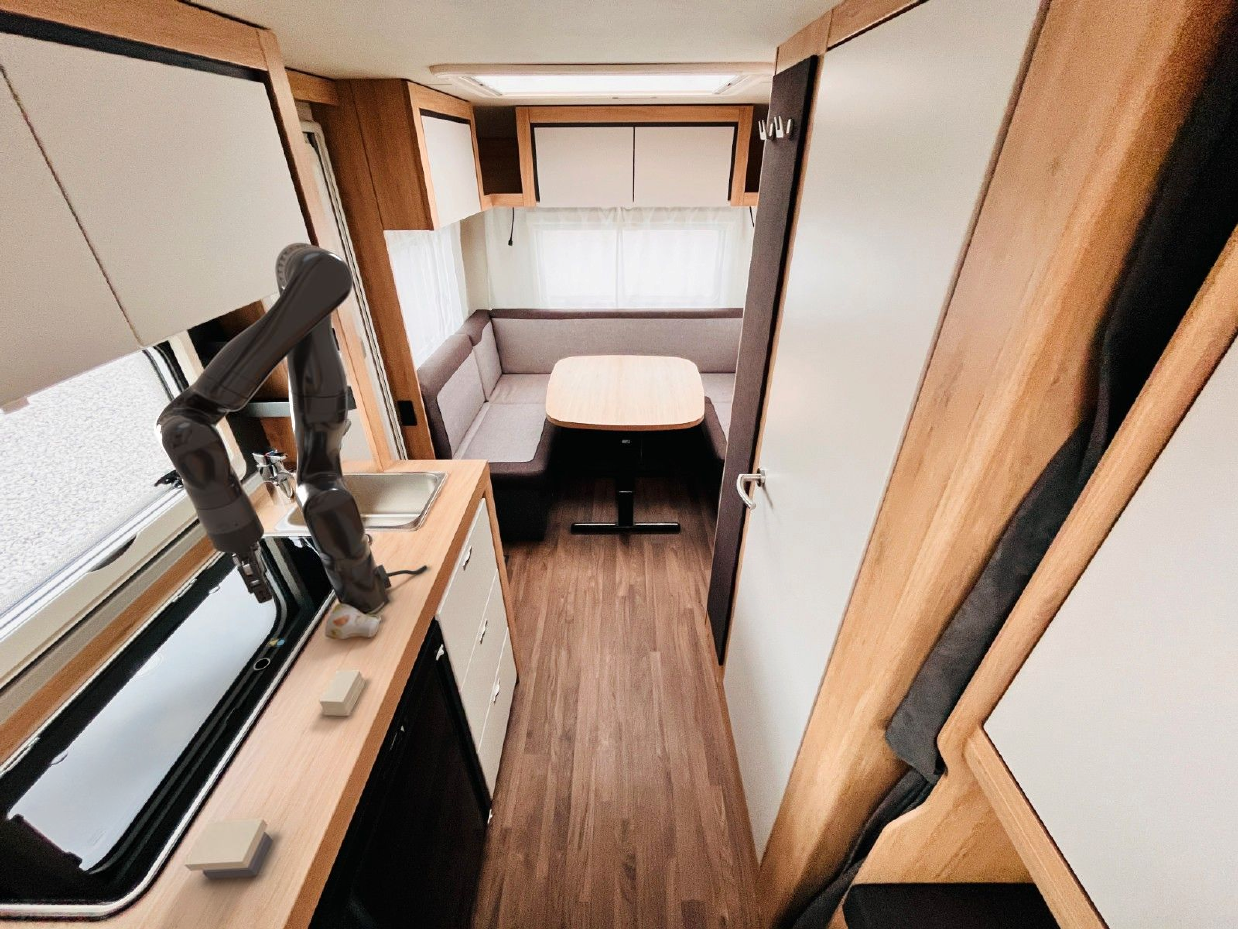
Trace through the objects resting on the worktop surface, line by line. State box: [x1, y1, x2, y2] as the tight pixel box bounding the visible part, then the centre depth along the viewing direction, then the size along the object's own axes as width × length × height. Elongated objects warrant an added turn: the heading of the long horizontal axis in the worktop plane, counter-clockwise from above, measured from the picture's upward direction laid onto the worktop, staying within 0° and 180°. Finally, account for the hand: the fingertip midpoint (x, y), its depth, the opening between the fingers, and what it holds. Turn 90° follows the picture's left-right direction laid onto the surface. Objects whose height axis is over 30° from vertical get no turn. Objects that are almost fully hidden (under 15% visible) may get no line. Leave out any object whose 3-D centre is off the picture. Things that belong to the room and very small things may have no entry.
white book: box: [183, 818, 268, 872], centre depth 71 cm, size 8×5×2 cm
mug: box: [324, 603, 382, 640], centre depth 106 cm, size 8×10×10 cm
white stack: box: [318, 669, 366, 717], centre depth 94 cm, size 7×4×4 cm
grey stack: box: [201, 831, 273, 880], centre depth 73 cm, size 7×4×4 cm
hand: (263, 586), depth 96 cm, fingers open, 8 cm apart
